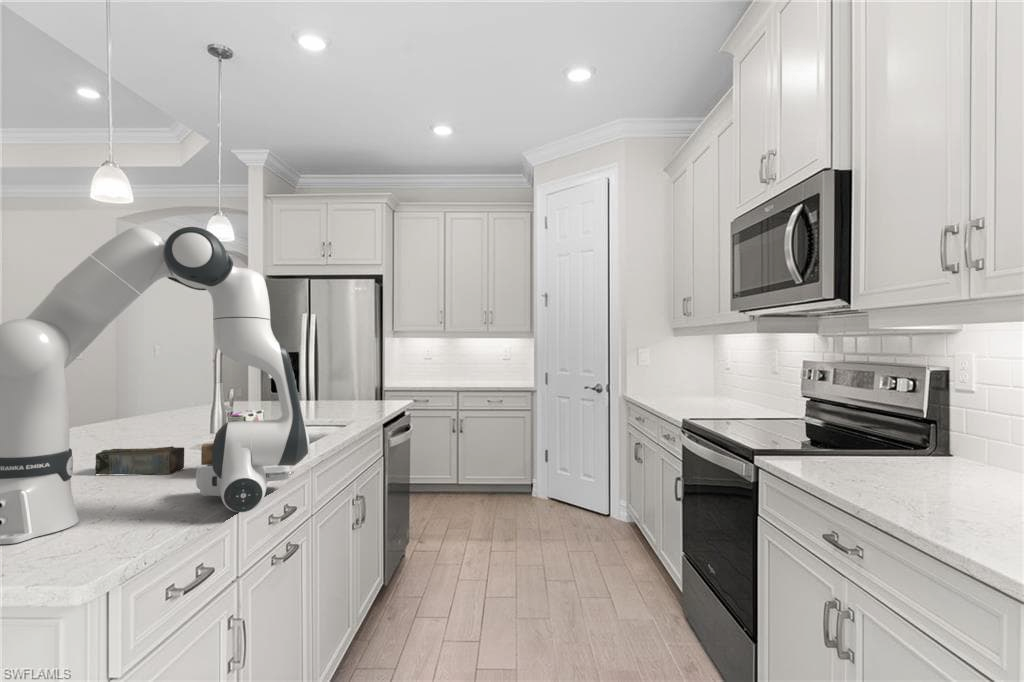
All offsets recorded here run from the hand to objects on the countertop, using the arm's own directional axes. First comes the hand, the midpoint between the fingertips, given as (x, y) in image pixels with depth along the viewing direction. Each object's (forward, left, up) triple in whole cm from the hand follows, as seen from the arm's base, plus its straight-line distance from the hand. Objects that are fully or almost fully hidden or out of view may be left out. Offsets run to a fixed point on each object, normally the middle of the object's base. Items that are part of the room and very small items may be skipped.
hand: (245, 465), depth 141 cm
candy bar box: (0, +13, -5) cm, 14 cm away
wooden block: (0, +21, -5) cm, 22 cm away
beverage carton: (-26, +26, -6) cm, 37 cm away
